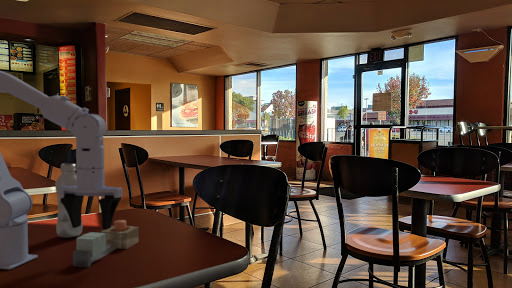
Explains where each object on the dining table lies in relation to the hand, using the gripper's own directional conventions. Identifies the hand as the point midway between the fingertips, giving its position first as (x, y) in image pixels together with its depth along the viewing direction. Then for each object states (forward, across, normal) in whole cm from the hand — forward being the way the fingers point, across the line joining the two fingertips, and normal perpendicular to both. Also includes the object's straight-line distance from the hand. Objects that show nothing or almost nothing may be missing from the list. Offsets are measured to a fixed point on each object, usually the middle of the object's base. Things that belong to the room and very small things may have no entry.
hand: (91, 227), depth 87 cm
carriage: (+6, 0, 0) cm, 6 cm away
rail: (+8, 0, -2) cm, 8 cm away
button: (+6, 0, -12) cm, 13 cm away
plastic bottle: (+8, +17, -15) cm, 24 cm away
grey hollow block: (+8, 0, -12) cm, 14 cm away
